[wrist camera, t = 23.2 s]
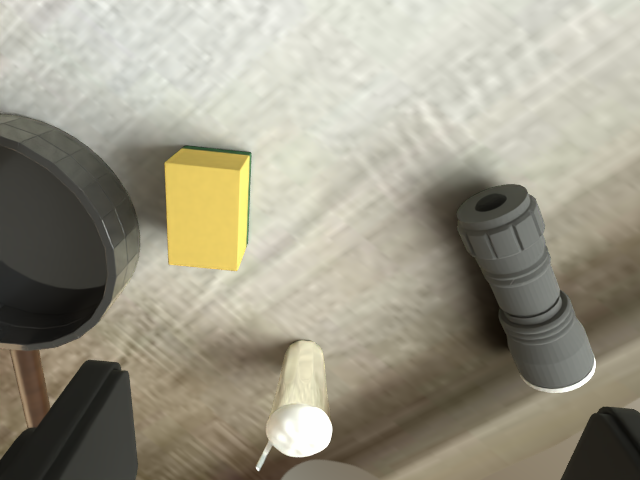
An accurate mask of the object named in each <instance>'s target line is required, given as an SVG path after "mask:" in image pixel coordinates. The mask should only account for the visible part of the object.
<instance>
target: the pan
mask: <svg viewBox="0 0 640 480" xmlns="http://www.w3.org/2000/svg"><path fill="white" fill-rule="evenodd" d="M139 252H140V232H139V225H138V220H137V217H136V213H135V210H134V207H133V205H132V202H131V200H130V198H129V196H128V194H127V192H126V190H125V189H124V187H123V185H122V183H121V182H120V181H119V179H118V178H117V176H116V175H115V174H114V172H113V171H112V170H111V169H110V168H109V167H108V165H107V164H106V163H105V162H104V161H103V160H102V159H101V158H100V157H99V156H98V155H97V154H96V153H94V152H93V151H92V150H91V149H90V148H89V147H87V146H86V145H85V144H83V143H82V142H80V141H79V140H77V139H76V138H75V137H73V136H71V135H69V134H68V133H66V132H64V131H62V130H60V129H58V128H56V127H54V126H51V125H49V124H47V123H44V122H41V121H38V120H34V119H31V118H28V117H22V116H16V115H9V114H0V349H11V350H22V351H32V350H40V349H48V348H55V347H58V346H61V345H63V344H66V343H68V342H71V341H73V340H76V339H78V338H80V337H81V336H83V335H84V334H85V333H86V332H88V331H89V330H90V329H91V328H92V327H94V326H95V325H96V324H97V323H98V322H99V321H100V320H101V319H102V317H103V316H104V315H105V314H106V312H107V311H108V310H109V308H110V307H111V306H112V305H113V303H114V302H115V301H116V300H117V298H118V297H119V296H120V294H121V293H122V291H123V290H124V288H125V287H126V285H127V284H128V282H129V281H130V279H131V277H132V275H133V273H134V271H135V269H136V265H137V262H138V258H139Z"/></svg>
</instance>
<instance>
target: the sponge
mask: <svg viewBox="0 0 640 480" xmlns="http://www.w3.org/2000/svg"><path fill="white" fill-rule="evenodd" d="M164 166H165V190H166V214H167V238H168V262H169V264H170V265H180V266H190V267H200V268H211V269H221V270H231V271H237V270H238V268H239V265H240V263H241V260H242V257H243V255H244V252H245V249H246V247H247V244H248V226H249V201H250V176H251V152H242V151H233V150H223V149H214V148H204V147H195V146H184V147H183V148H182V149H180V150H179V151H178V152H177V153H175V154H174V155H173V156H172V157H171V158H169V159H168V160H167V161H166V162H165V163H164Z"/></svg>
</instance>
